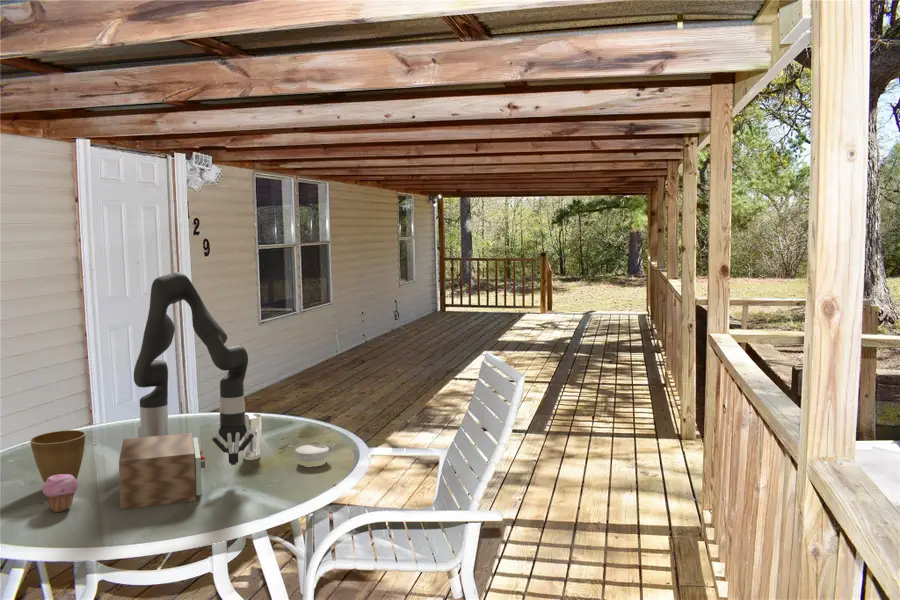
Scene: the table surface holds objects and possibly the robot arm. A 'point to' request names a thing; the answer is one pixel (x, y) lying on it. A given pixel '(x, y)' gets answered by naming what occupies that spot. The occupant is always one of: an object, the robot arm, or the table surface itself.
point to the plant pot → (58, 452)
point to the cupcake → (60, 491)
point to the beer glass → (255, 427)
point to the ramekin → (311, 452)
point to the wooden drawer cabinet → (157, 470)
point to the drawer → (198, 466)
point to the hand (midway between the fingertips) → (233, 464)
